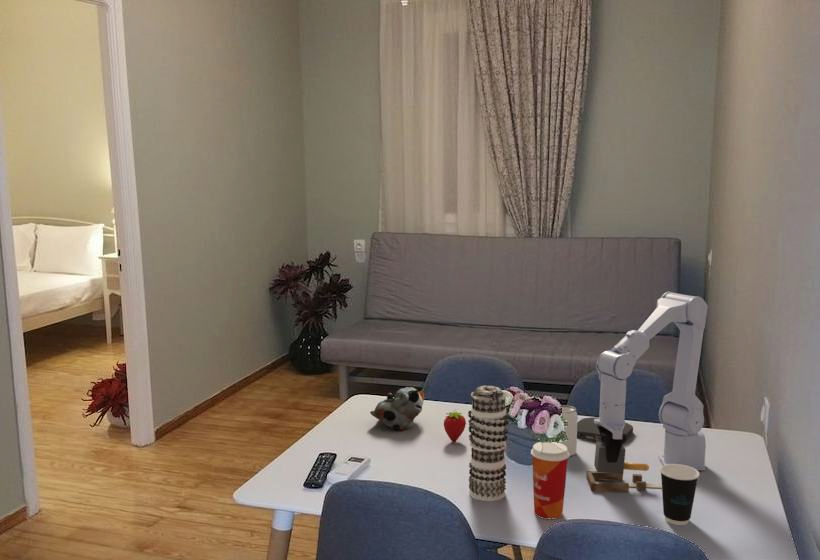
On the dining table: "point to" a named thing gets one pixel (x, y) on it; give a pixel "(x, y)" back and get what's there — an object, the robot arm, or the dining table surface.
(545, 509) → the coffee cup
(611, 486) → the holder
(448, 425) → the strawberry
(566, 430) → the can
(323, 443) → the dining table surface
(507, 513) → the dining table surface
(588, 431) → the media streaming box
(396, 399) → the lucky cat figurine
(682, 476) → the dixie cup
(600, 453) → the grey block with handle
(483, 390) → the decorative candle
